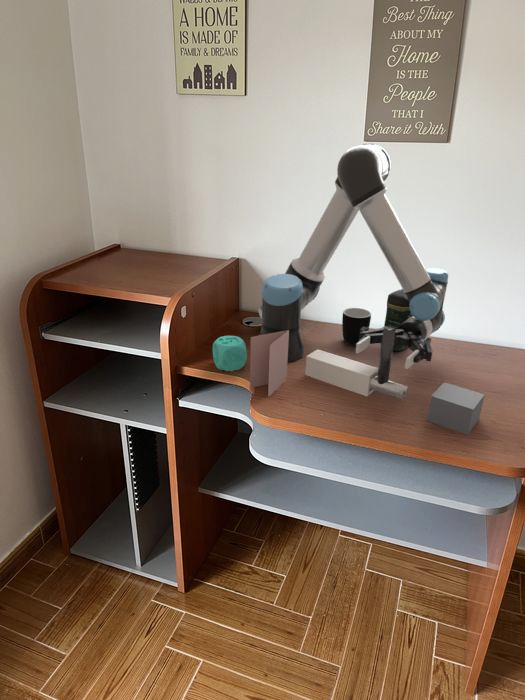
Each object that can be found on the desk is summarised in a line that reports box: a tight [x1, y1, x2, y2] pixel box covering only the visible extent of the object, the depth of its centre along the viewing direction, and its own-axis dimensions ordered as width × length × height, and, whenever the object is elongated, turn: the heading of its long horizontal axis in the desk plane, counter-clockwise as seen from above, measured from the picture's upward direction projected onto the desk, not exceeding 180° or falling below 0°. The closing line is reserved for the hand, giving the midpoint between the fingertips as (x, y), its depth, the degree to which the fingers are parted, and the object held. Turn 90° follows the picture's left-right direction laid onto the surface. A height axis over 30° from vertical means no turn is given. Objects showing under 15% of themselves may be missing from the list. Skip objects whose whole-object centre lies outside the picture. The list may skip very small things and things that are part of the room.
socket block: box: [426, 382, 485, 436], centre depth 132 cm, size 10×9×7 cm
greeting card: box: [249, 330, 289, 398], centre depth 143 cm, size 11×7×15 cm, turn 118°
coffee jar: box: [380, 288, 413, 352], centre depth 170 cm, size 10×8×19 cm
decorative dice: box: [212, 335, 248, 372], centre depth 156 cm, size 8×8×8 cm
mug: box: [341, 307, 372, 346], centre depth 175 cm, size 12×9×10 cm
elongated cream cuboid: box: [304, 348, 379, 397], centre depth 149 cm, size 20×6×6 cm, turn 53°
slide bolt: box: [370, 327, 409, 400], centre depth 143 cm, size 26×4×18 cm, turn 53°
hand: (381, 355), depth 136 cm, fingers open, 13 cm apart
